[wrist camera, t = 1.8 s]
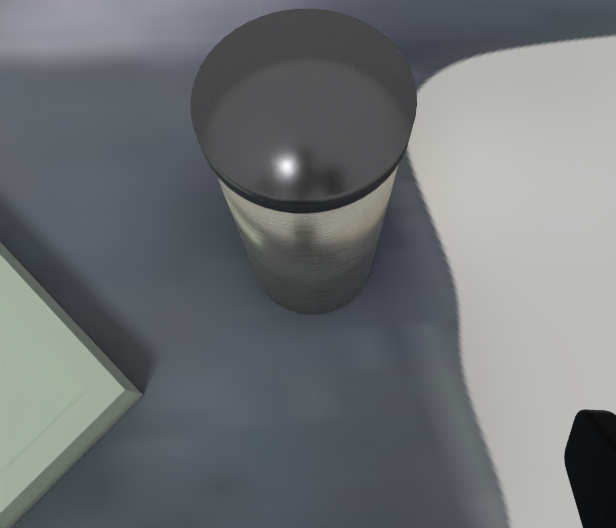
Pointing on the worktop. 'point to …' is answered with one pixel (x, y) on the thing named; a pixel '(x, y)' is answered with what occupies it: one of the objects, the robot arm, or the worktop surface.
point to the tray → (47, 391)
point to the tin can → (306, 147)
